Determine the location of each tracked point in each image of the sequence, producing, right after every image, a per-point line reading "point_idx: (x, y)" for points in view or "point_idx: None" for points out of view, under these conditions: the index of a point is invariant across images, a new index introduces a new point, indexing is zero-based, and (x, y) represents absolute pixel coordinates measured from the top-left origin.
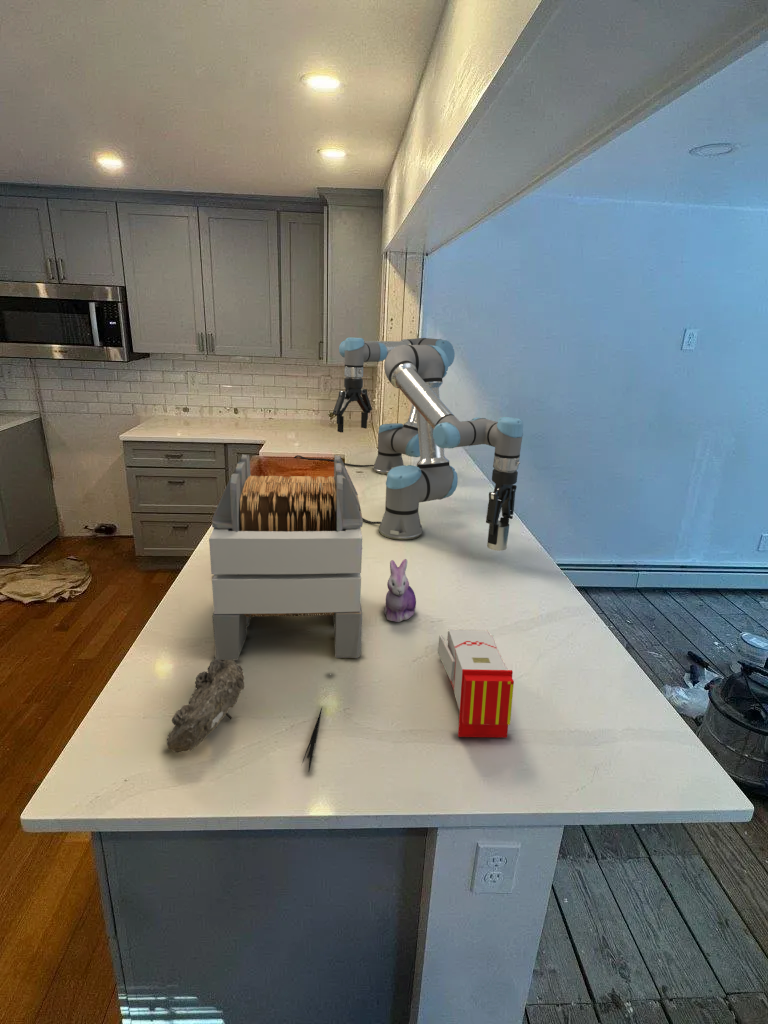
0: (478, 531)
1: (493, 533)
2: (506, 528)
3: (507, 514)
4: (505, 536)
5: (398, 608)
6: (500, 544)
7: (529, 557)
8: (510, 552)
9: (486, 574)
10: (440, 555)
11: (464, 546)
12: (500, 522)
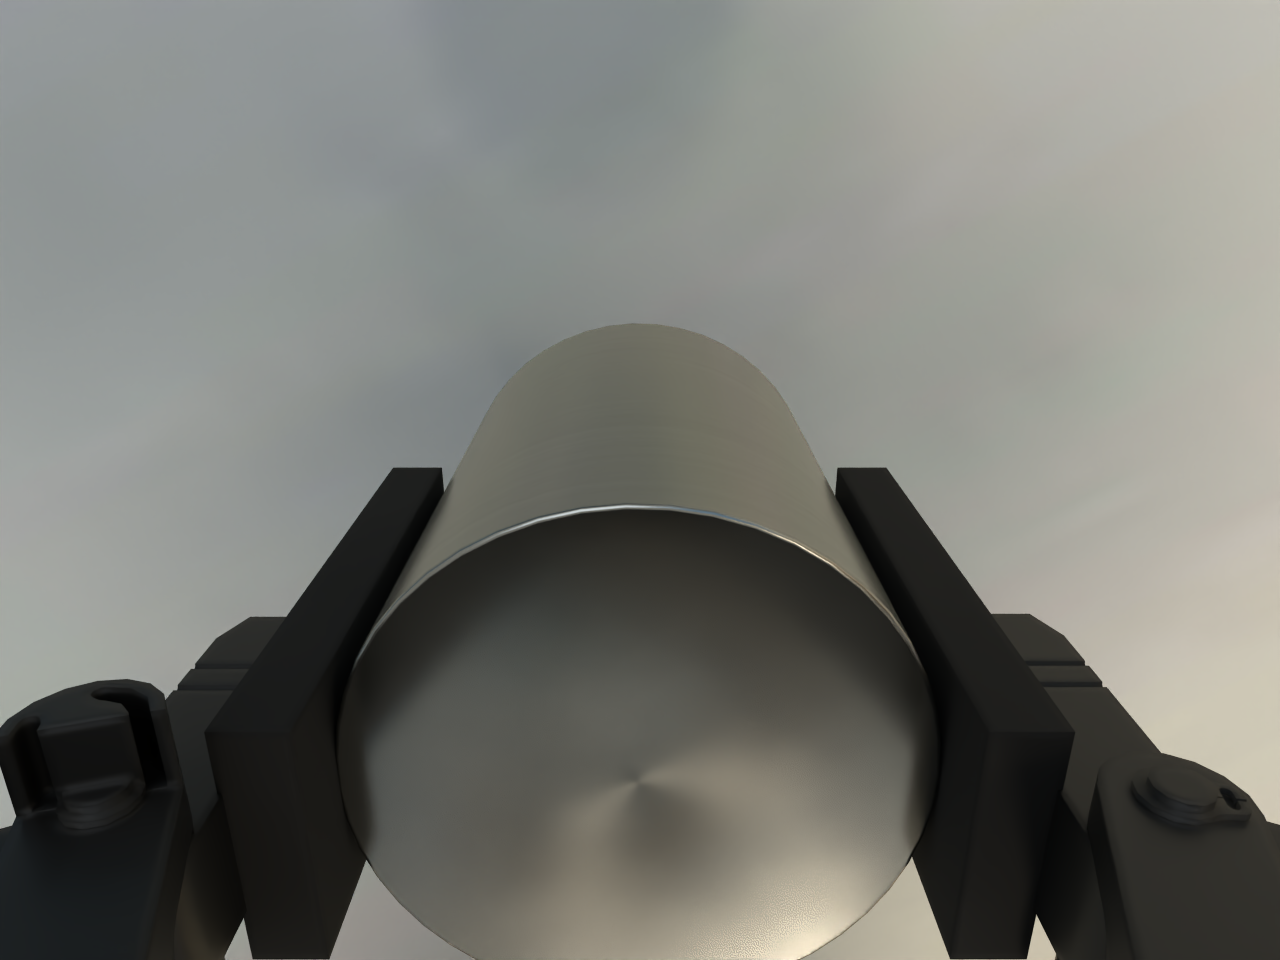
0: None
1: (1035, 634)
2: (724, 494)
3: (171, 925)
4: (712, 410)
5: None
6: (778, 409)
7: (109, 104)
8: (201, 403)
9: (1093, 294)
10: (922, 904)
11: None
12: (519, 807)
